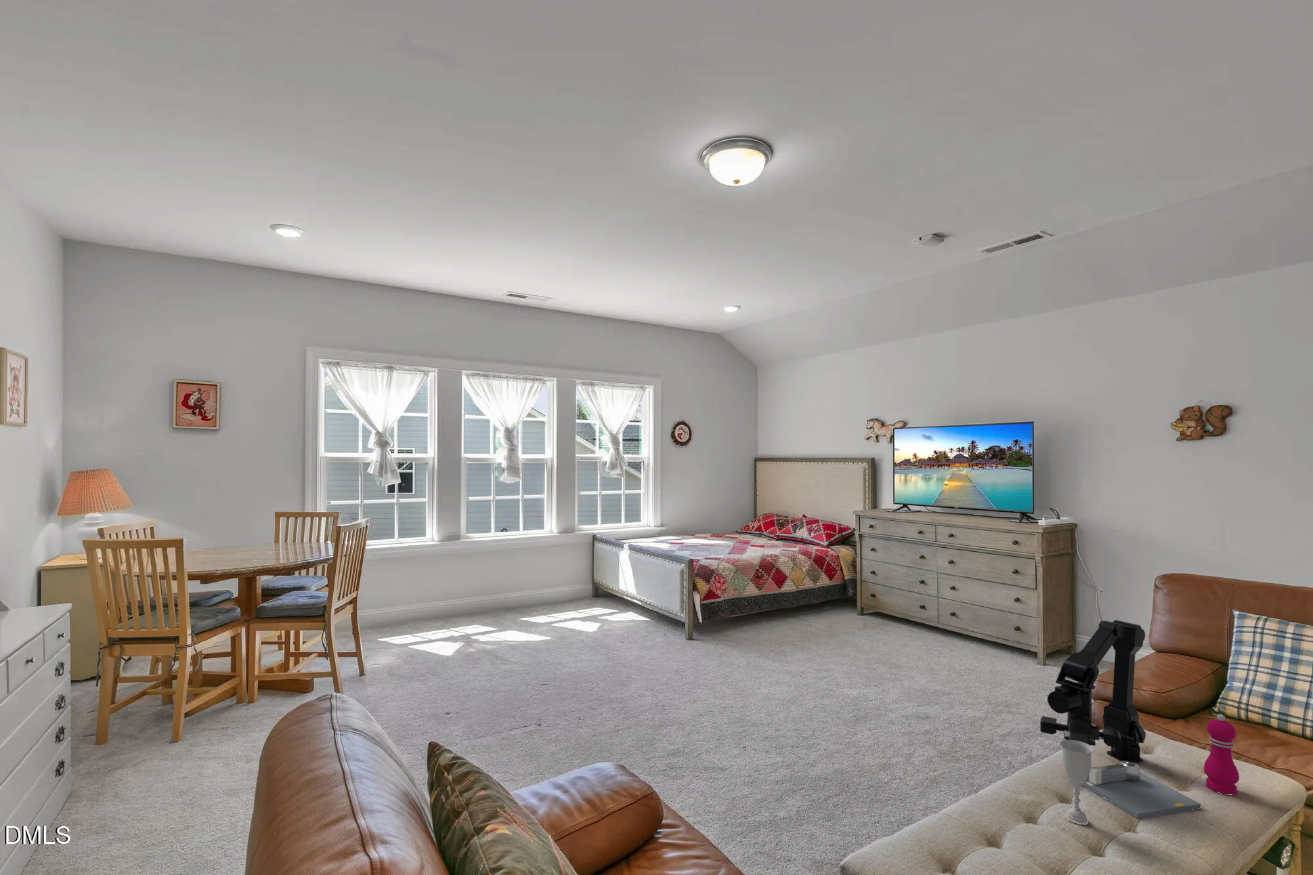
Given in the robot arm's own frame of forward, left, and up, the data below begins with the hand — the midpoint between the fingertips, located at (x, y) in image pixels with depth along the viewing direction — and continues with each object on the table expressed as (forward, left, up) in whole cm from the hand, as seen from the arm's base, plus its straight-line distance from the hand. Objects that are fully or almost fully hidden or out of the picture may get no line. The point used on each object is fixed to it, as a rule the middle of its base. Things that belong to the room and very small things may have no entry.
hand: (1079, 762), depth 181 cm
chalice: (+17, -19, -4) cm, 26 cm away
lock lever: (+6, +5, -2) cm, 8 cm away
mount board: (+10, +6, -4) cm, 12 cm away
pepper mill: (+14, +31, -4) cm, 35 cm away
